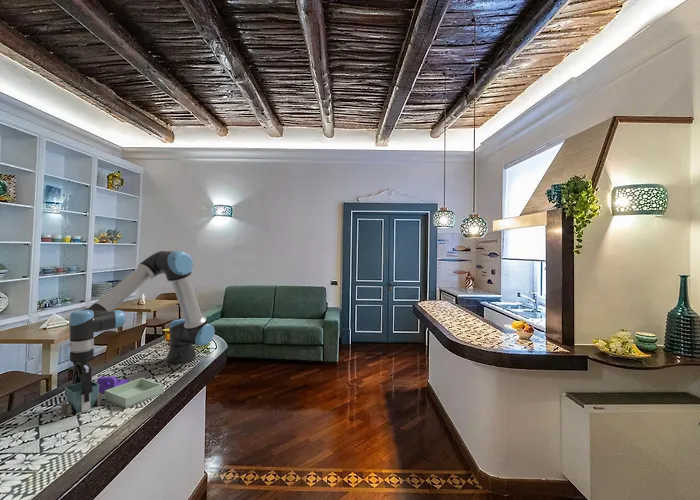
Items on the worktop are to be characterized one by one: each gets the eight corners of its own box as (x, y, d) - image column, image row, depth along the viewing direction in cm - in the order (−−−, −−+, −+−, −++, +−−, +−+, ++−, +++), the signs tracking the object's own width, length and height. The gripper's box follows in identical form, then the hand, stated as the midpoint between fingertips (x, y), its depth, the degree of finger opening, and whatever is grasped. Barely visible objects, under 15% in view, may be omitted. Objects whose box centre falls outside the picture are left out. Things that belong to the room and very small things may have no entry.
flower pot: (73, 415, 130) (73, 392, 130) (64, 409, 134) (64, 387, 134) (100, 406, 137) (99, 384, 137) (90, 401, 142) (90, 379, 142)
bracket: (114, 393, 150) (114, 378, 150) (97, 394, 149) (97, 378, 149) (128, 382, 162) (128, 368, 162) (113, 383, 161) (113, 368, 161)
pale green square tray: (142, 386, 157) (142, 377, 157) (163, 393, 149) (163, 384, 149) (104, 399, 143) (104, 390, 143) (126, 408, 136) (126, 398, 136)
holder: (98, 399, 143) (97, 390, 143) (103, 404, 139) (103, 395, 139) (59, 411, 133) (59, 401, 133) (64, 417, 129) (64, 406, 129)
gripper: (62, 346, 139) (62, 401, 140) (78, 358, 126) (78, 418, 126) (85, 342, 145) (85, 395, 145) (102, 353, 132) (102, 410, 132)
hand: (82, 405), depth 136 cm, fingers closed on flower pot, 9 cm apart
